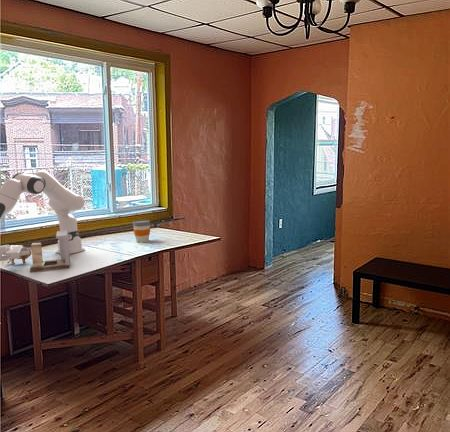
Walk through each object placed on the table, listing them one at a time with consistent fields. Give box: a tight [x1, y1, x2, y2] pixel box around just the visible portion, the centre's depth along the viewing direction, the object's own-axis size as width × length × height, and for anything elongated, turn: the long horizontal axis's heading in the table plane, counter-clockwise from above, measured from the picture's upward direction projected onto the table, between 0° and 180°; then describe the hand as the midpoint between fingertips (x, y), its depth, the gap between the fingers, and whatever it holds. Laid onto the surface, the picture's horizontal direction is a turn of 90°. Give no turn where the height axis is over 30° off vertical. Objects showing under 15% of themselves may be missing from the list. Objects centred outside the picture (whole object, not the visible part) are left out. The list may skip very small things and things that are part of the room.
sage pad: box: [30, 262, 45, 268], centre depth 262 cm, size 9×7×1 cm
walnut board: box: [29, 258, 71, 273], centre depth 265 cm, size 16×21×2 cm
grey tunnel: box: [55, 230, 71, 265], centre depth 265 cm, size 16×6×18 cm, turn 18°
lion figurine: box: [7, 250, 32, 265], centre depth 273 cm, size 15×5×9 cm, turn 96°
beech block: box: [30, 242, 44, 265], centre depth 261 cm, size 5×5×12 cm
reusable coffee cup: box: [132, 219, 151, 244], centre depth 328 cm, size 13×13×15 cm
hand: (30, 250), depth 260 cm, fingers open, 8 cm apart
